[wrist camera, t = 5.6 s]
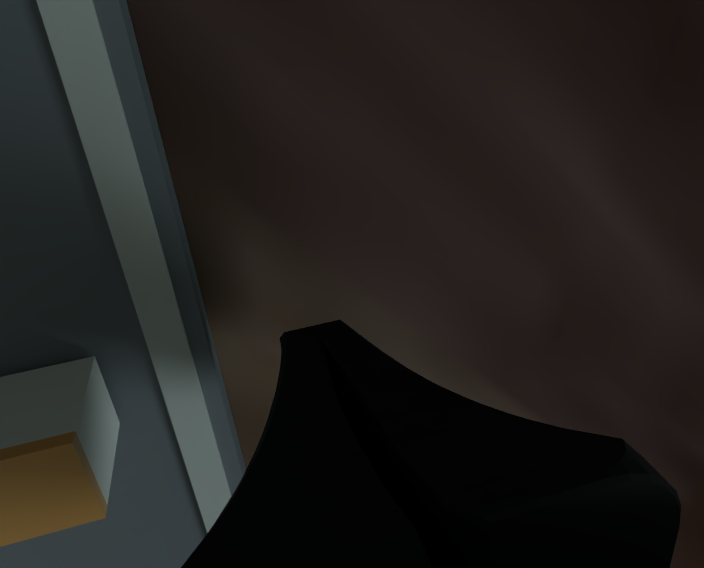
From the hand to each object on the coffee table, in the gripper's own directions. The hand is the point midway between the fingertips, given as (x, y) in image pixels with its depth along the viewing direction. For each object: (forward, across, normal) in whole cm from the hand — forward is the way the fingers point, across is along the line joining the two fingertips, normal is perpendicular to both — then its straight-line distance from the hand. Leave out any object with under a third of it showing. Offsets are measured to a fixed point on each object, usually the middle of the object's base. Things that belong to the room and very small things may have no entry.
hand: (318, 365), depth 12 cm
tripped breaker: (+1, +6, 0) cm, 6 cm away
